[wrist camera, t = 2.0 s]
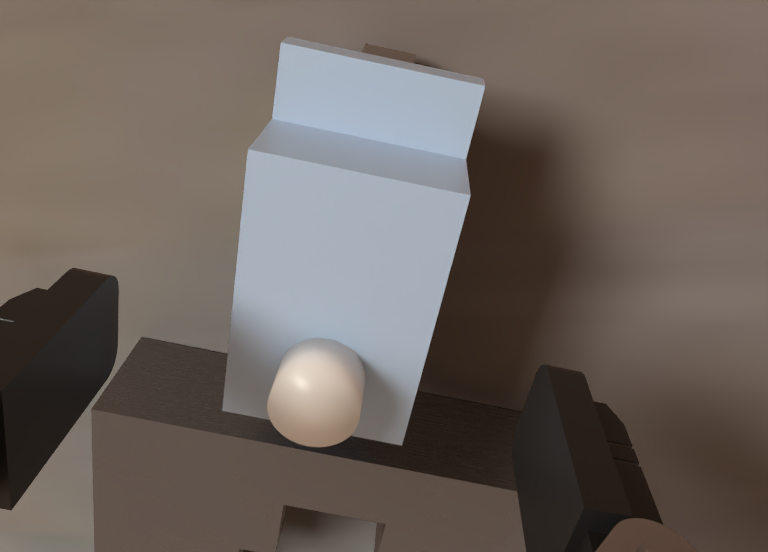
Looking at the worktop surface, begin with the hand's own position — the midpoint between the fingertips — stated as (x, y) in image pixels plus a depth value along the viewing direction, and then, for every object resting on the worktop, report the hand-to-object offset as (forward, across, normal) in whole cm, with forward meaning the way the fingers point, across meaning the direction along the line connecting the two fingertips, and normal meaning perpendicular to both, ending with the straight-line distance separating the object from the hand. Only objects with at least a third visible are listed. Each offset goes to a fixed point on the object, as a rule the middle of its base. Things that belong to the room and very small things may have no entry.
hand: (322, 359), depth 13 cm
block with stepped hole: (+7, -1, +13) cm, 15 cm away
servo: (+7, 0, -1) cm, 7 cm away
